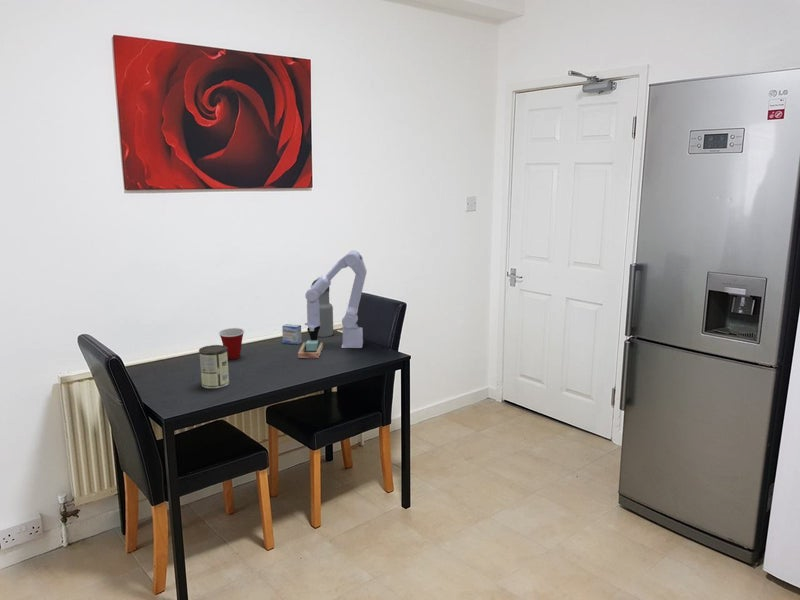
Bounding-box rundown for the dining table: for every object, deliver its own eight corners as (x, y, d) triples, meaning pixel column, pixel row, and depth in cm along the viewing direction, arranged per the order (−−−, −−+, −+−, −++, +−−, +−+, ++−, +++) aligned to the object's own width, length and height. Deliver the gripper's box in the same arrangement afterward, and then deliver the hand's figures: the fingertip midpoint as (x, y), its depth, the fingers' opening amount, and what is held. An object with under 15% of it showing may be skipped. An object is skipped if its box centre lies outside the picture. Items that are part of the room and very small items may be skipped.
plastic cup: (217, 361, 267) (215, 334, 265) (223, 354, 278) (221, 328, 275) (242, 361, 267) (241, 334, 265) (248, 354, 278) (246, 327, 276)
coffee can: (205, 379, 243) (203, 344, 240) (232, 379, 243) (230, 344, 241) (197, 388, 233) (195, 352, 230) (225, 388, 233) (223, 352, 231)
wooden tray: (323, 347, 289) (323, 342, 288) (318, 358, 271) (318, 353, 271) (303, 347, 289) (303, 342, 288) (297, 358, 271) (297, 353, 270)
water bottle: (312, 337, 306) (310, 281, 301) (313, 332, 316) (311, 277, 310) (333, 337, 307) (331, 280, 301) (333, 332, 316) (332, 277, 311)
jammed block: (318, 347, 287) (318, 340, 286) (317, 350, 282) (316, 343, 282) (307, 347, 287) (307, 340, 286) (306, 350, 282) (305, 343, 282)
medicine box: (282, 343, 295) (281, 325, 294) (286, 341, 300) (286, 323, 298) (297, 344, 293) (297, 326, 291) (301, 342, 297) (301, 324, 296)
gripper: (306, 310, 296) (307, 338, 299) (302, 317, 282) (303, 346, 284) (321, 310, 296) (322, 338, 299) (318, 317, 282) (318, 346, 285)
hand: (314, 342), depth 292 cm, fingers closed
